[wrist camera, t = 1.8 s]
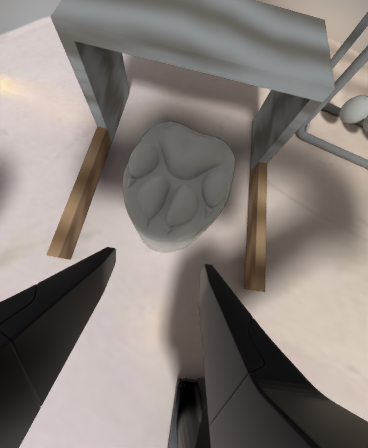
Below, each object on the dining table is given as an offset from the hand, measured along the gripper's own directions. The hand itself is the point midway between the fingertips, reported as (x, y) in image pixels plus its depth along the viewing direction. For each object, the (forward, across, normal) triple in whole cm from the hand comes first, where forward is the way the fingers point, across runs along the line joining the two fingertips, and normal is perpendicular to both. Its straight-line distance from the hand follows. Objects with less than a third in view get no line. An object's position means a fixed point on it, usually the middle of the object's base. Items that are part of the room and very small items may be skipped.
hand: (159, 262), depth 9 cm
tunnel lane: (+18, 0, 0) cm, 18 cm away
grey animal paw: (+15, 0, +3) cm, 15 cm away
